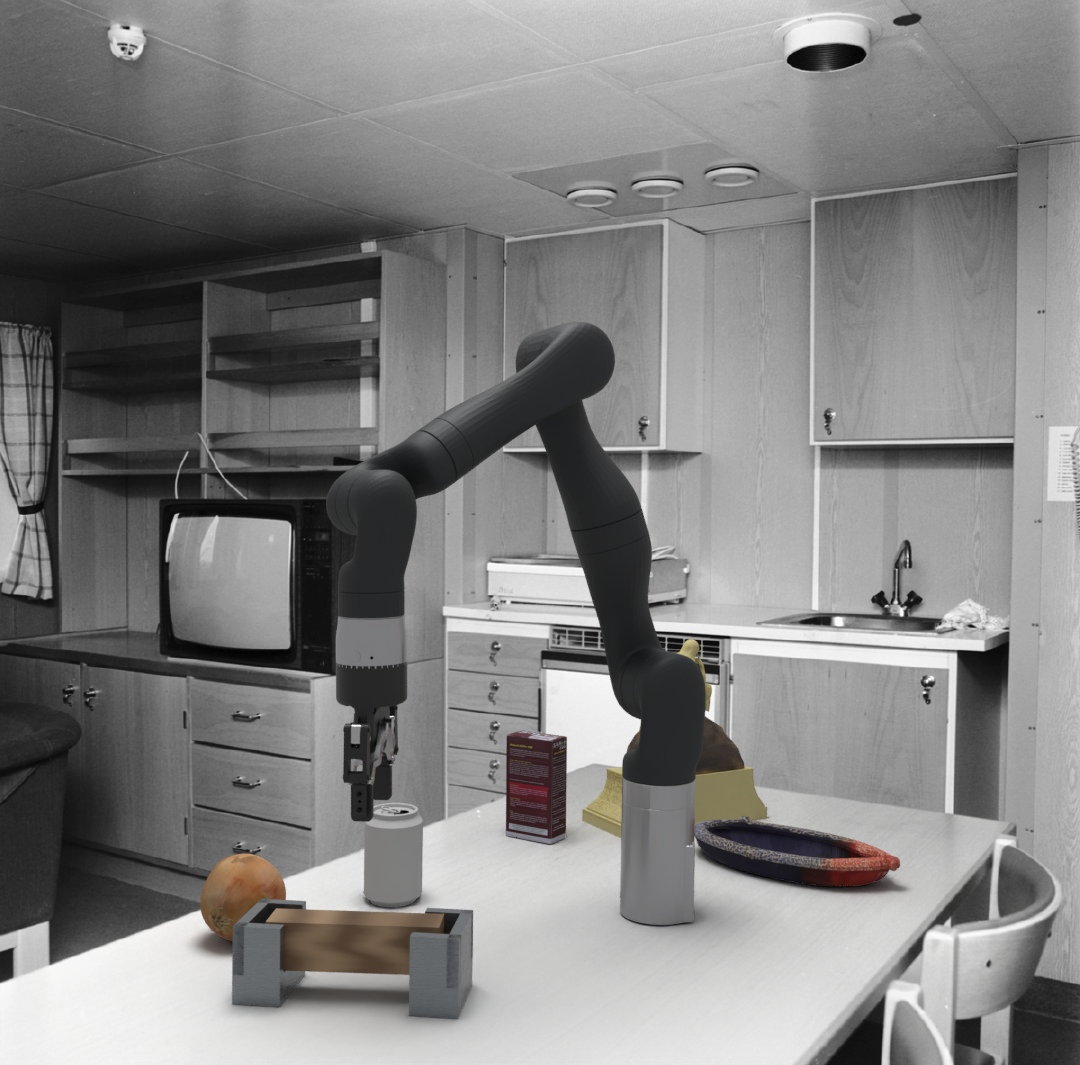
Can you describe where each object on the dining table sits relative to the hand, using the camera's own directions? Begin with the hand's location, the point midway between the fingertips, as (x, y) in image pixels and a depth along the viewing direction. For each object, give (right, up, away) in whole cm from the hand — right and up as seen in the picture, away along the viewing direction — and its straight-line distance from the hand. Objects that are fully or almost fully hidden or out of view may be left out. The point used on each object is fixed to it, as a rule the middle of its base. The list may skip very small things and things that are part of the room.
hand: (372, 809), depth 124 cm
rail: (-1, -16, -2) cm, 16 cm away
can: (-1, -18, +27) cm, 32 cm away
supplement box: (+17, -18, +56) cm, 61 cm away
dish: (+54, -19, +42) cm, 71 cm away
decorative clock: (+40, -18, +67) cm, 80 cm away
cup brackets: (-1, -19, -2) cm, 19 cm away
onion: (-17, -18, +12) cm, 28 cm away
